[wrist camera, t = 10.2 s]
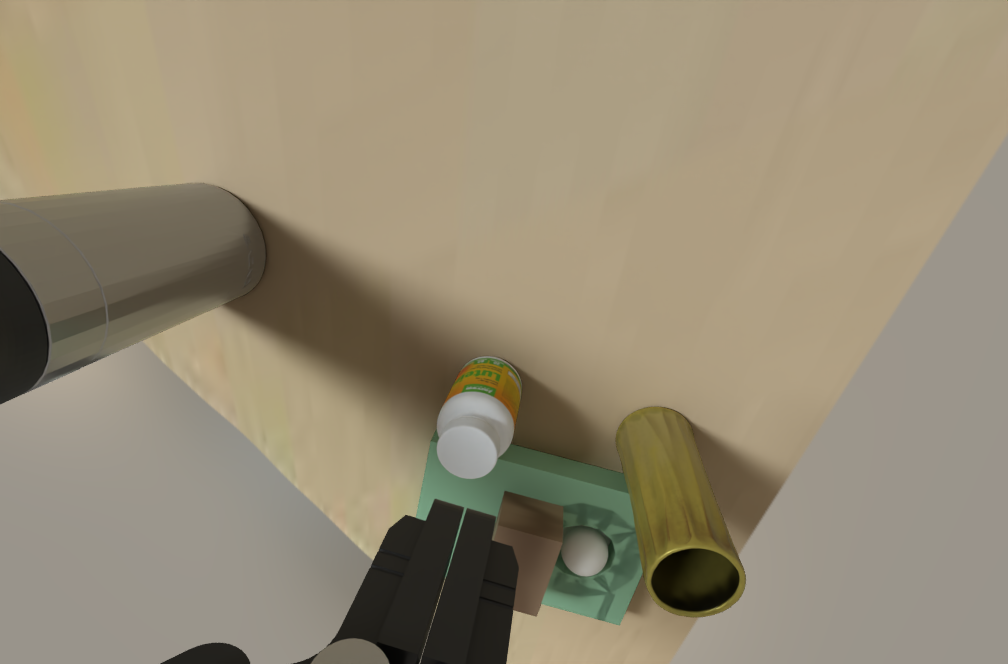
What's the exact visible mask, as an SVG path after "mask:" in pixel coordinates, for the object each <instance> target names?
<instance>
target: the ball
mask: <svg viewBox="0 0 1008 664" xmlns="http://www.w3.org/2000/svg"><path fill="white" fill-rule="evenodd" d="M561 554H562V558H563V561H564V563H565V564H566V566H567V567H568V568H569V569H570V570H571V571H572V572H573V573H575V574H577V575H580V576H585V577H587V576H593V575H595V574H597V573H599V572H600V571H601V570H602V569H603V568H604V566H605V564H606V562H607V559H608V547H607V543H606V541H605V539H604V537H603V536H602V535H601V533H600V532H598V531H597V530H596V529H594V528H592V527H588V526H577V527H574V528H572V529H571V530H570V531H568V532H567V534H566V535H565V536H564V538H563V544H562V547H561Z"/></svg>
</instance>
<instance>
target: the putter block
mask: <svg viewBox="0 0 1008 664" xmlns="http://www.w3.org/2000/svg"><path fill="white" fill-rule="evenodd" d="M492 540H493V541H496V542H499V543H503V544H506V545H510V546H513V550H514V553H515V556H516V559H517V562H518V566H519V571H518V578H517V586H516V591H515V593H516V594H515V601H514V607H513V610H515V611H518V612H522V613H526V614H529V615H533V616H536V617H537V614H538V611H539V609H540V606H541V603H542V600H543V597H544V594H545V592H546V589H547V586H548V583H549V580H550V578H551V575H552V572H553V569H554V566H555V563H556V561H557V558H558V555H559V552H560V549H561V547H562V544H563V506H560V505H556V504H552V503H549V502H545V501H541V500H538V499H534V498H530V497H527V496H523V495H519V494H516V493H512V492H508V491H504V495H503V498H502V502H501V505H500V509H499V513H498V516H497V520H496V523H495V527H494V531H493V536H492Z"/></svg>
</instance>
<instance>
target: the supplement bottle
mask: <svg viewBox="0 0 1008 664" xmlns="http://www.w3.org/2000/svg"><path fill="white" fill-rule="evenodd" d="M521 395H522V383H521V379H520V377H519V374H518V373H517V371H516V370H515V369H514V368H513V366H511V365H510V364H509V363H508V362H506V361H504V360H502V359H500V358H497V357H492V356H483V357H478V358H475V359H473V360H471V361H469V362H468V363H467V364H466V365H465V366H464V367H463V368H462V369H461V371H460V373H459V374H458V376H457V378H456V380H455V382H454V384H453V386H452V388H451V390H450V392H449V394H448V396H447V398H446V400H445V402H444V404H443V406H442V408H441V411H440V413H439V416H438V419H437V433H438V436H439V440H438V443H437V455H438V458H439V461H440V462H441V464H442V465H443V467H444V468H445V469H446V470H447V471H449V472H450V473H452V474H453V475H455V476H458V477H461V478H465V479H476V478H480V477H483V476H485V475H487V474H488V473H489V472H490V471H491V470H492V469H493V468H494V466H495V465H496V462H497V459H498V457H500V456H501V455H502V454H503V453H504V452H505V451H506V450H507V449H508V447H509V446H510V444H511V441H512V438H513V434H514V430H515V425H516V420H517V415H518V410H519V405H520V400H521Z"/></svg>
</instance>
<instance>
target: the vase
mask: <svg viewBox="0 0 1008 664" xmlns="http://www.w3.org/2000/svg"><path fill="white" fill-rule="evenodd" d="M616 447H617V451H618V453H619V456H620V459H621V463H622V468H623V473H624V477H625V480H626V484H627V488H628V492H629V495H630V501H631V506H632V510H633V516H634V524H635V530H636V535H637V541H638V547H639V554H640V560H641V566H642V571H643V577H644V581H645V584H646V586H647V589H648V591H649V593H650V595H651V597H652V598H653V600H654V601H655V602H656V604H658V605H659V606H660V607H661V608H663V609H664V610H666V611H668V612H670V613H673V614H676V615H680V616H686V617H705V616H710V615H714V614H717V613H720V612H723V611H725V610H726V609H728V608H730V607H731V606H732V605H733V604H735V603H736V602H737V601H738V600H739V598H740V597H741V595H742V594H743V591H744V589H745V584H746V575H745V571H744V568H743V566H742V563H741V561H740V559H739V556H738V554H737V552H736V549H735V547H734V544H733V542H732V539H731V537H730V534H729V532H728V530H727V527H726V524H725V522H724V519H723V517H722V514H721V512H720V509H719V506H718V504H717V501H716V499H715V496H714V494H713V491H712V488H711V485H710V482H709V480H708V477H707V475H706V472H705V469H704V466H703V463H702V460H701V457H700V454H699V451H698V448H697V446H696V443H695V440H694V434H693V431H692V428H691V426H690V424H689V423H688V421H687V420H686V419H685V418H684V417H683V416H682V415H680V414H679V413H677V412H675V411H673V410H671V409H668V408H663V407H647V408H643V409H640V410H637V411H635V412H633V413H632V414H630V415H629V416H627V417H626V418H625V419H624V420H623V422H622V423H621V425H620V427H619V428H618V431H617V433H616Z"/></svg>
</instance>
